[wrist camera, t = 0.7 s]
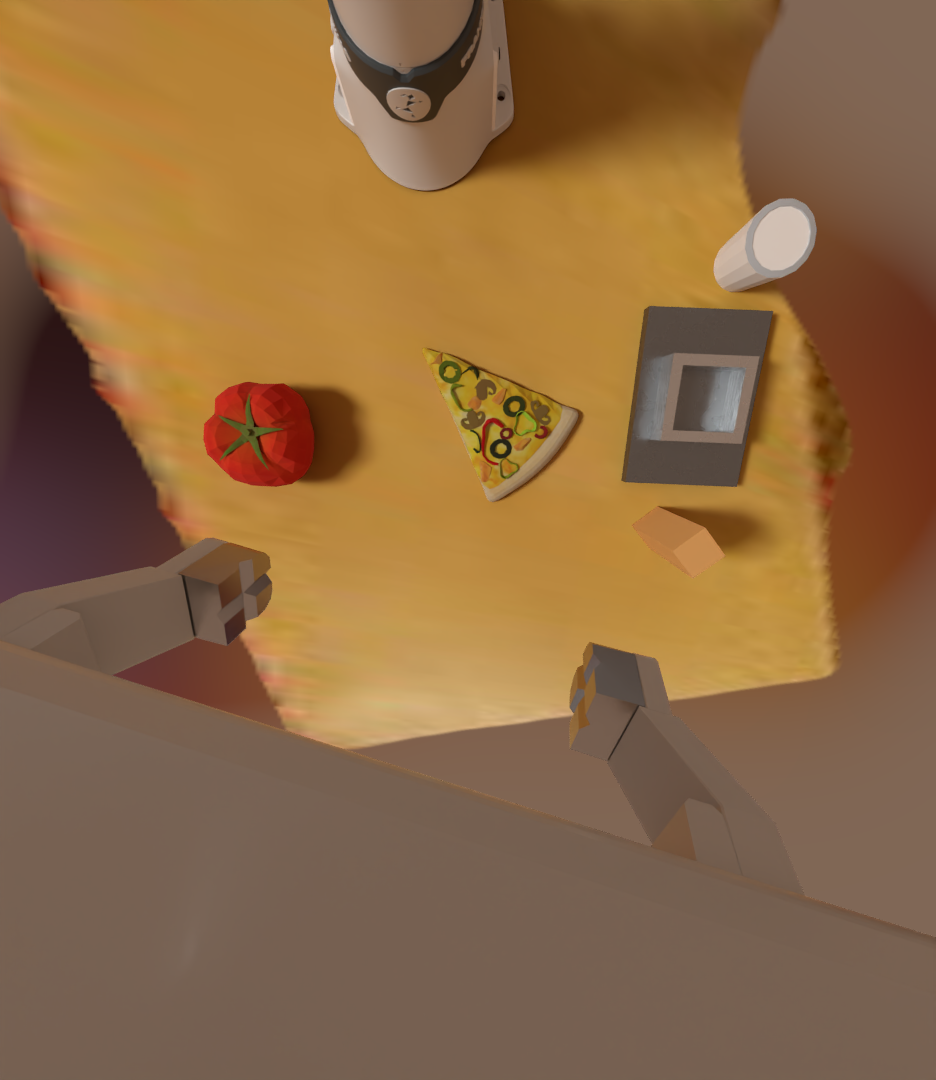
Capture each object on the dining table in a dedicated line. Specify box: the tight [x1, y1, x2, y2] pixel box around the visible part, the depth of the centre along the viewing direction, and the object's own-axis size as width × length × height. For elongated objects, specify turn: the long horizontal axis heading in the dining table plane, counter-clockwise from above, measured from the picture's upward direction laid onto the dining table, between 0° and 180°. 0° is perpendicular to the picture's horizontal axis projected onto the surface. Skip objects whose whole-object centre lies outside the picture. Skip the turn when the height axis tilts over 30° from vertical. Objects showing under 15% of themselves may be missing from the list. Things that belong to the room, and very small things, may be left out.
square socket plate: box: [622, 306, 773, 487], centre depth 50 cm, size 20×14×4 cm
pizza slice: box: [423, 348, 579, 502], centre depth 52 cm, size 16×21×3 cm
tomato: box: [204, 382, 314, 487], centre depth 50 cm, size 13×12×8 cm
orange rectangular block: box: [632, 506, 725, 578], centre depth 51 cm, size 4×4×12 cm
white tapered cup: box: [714, 199, 817, 292], centre depth 45 cm, size 7×7×7 cm
